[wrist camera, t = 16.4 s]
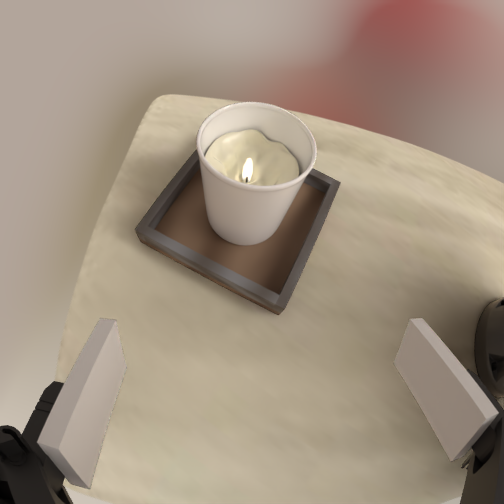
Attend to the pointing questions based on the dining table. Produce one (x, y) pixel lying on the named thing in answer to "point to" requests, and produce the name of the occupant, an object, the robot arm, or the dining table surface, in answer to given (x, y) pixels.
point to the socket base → (232, 255)
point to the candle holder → (252, 168)
